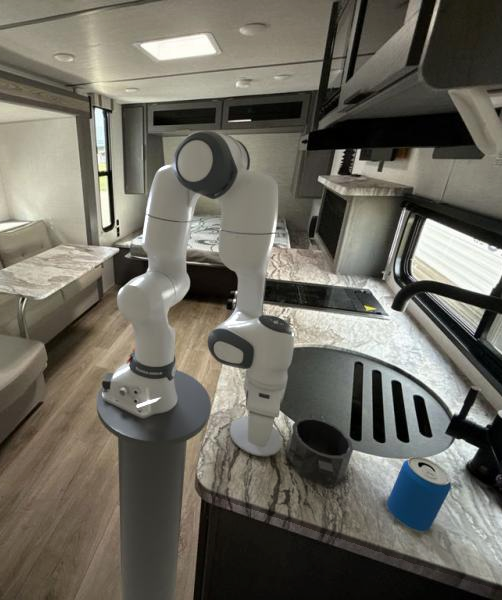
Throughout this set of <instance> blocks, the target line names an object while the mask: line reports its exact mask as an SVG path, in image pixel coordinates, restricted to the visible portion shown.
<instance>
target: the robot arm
mask: <svg viewBox="0 0 502 600" xmlns="http://www.w3.org/2000/svg"><path fill="white" fill-rule="evenodd" d="M250 166H251V158H250V153H249V151H248V149H247V147H246V145H244V143H242V142H241V141H240V140H238V139H236V138H234V137H232V136H231V135H229V134H227V133H223V132H215V131H212V130H200V131H196V132H193V133H191V134H188V135H187V136H186V137H185V138H183V140H181V142H180V143H179V144H178V146H177V148H176V150H175V152H174V155H173V162H172V164H171V163H170V164H166V165H163V166H162V167H160V168H159V169H158V170H157V171H156V172H155V175H154V178H153V180H152V183H151V186H150V190H149V194H148V198H147V202H146V209H145V214H144V223H143V229H142V236H141V238H142V239H141V247H142V249H143V251H144V253H146V256H147V261H148V267H147V269H146V272H145V273H143V274H141V275H138V276H135V277H134V278H132V279H130V280H129V281H128V282H127V283H126V284H124V285H123V286H122V287H121V288H120V289H119V291H118V292H117V296H116V304H117V308H118V310H119V313H120V314H121V315H122V316H123V317H124V319H126V320H127V321H128V322H130V323H131V326H132V329H133V333H134V348H133V349H132V352H131V353H129V357H128V358H127V359H126V363H123V364H121V366H119V367H118V368H117V369H116V370H115V372H106V374H105V376H104V378H103V380H102V382H101V387H102V386H103V388H104V389H103V392H102V399H103V400H104V401H107V402H109V403H111V404H113V405H115V406H117V407H119V408H121V409H123V410H125V411H127V412H129V413H132V414H134V415H136V416H138V417H140V418H147V417H149V416H151V415H154V414H160V413H164V412H167V411H169V410H171V409H172V408H173V407H174V406H175V405H176V403H177V400H178V397H177V394H176V390H175V383H174V375H175V369H176V368H177V367H176V366H177V363H176V362H177V361H176V355H175V350H176V349H175V348H176V331H175V329H174V328H173V327H172V326H171V325H170V322H169V318H168V317H169V311H170V308H172V307H174V306H175V305H177V304H179V303H180V302H181V301H182V300H183V299H184V297H185V296H186V295H187V293H188V292H189V290H190V287H191V279H190V276H189V274H188V272H187V252H188V245H189V240H190V235H191V231H192V230H191V229H192V225H193V220H194V214H195V210H196V205H197V202H198V200H199V199H200V197H201V196H204V197H206V198H208V199H211V200H216V199H217V200H218V202H219V204H220V221H219V230H218V241H217V242H218V243H217V246H218V257H219V259H220V261H221V263H222V264H223V265H224V266H225V267H226V268H228V269H229V270H230V271H233V272H234V273H235V275H236V277H237V291H236V293H237V294H236V306H235V309H234V310H233V312H232V314H231V315H230V316H229V317H228V318H227V319H225V320H224V321H223V322H222V323H220V324H219V325H217V327H215V328H214V329H213V330H212V331H211V332H210V333H209V334H208V337H207V349H208V351H209V353H210V355H211V356H212V358H213V359H215V361H216V362H217V363H220V364H222V365H224V366H228V367H232V368H235V369H241V370H245V374H244V381H243V390H244V395H245V409H246V411H247V412H248V413H247V417H248V442H249V443H250V444H253V445H256V446H260V447H265V446H266V445H267V442H268V439H269V436H270V433H271V430H272V427H274V422H275V418H277V419H278V418H279V416H280V412H281V403H282V402H283V399H284V397H285V394H286V388H287V384H288V378H289V374H288V370H289V367H290V366H291V364H292V360H293V356H294V349H295V332H294V329H293V327H292V326H291V324H290V323H288V322H287V321H286V320H285V319H283V318H280V317H278V316H276V315H270V314H264V301H265V292H266V284H267V283H266V282H267V272H268V268H269V263H270V259H271V256H272V252H273V247H274V244H275V243H274V242H275V237H276V231H277V226H278V225H277V224H278V216H279V186H278V182H277V181H276V179H275V178H274V177H273V176H272V175H270V174H268V173H266V172H263V171H257V170H250ZM176 370H177V369H176Z"/></svg>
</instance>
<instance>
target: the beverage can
mask: <svg viewBox="0 0 502 600" xmlns="http://www.w3.org/2000/svg"><path fill="white" fill-rule="evenodd" d="M451 485H452V484H451V477H450V474H449V473H448V472H447V471H446V469H444V468H443V467H442V466H441V465H439V464H437V463H436V462H435V461H432V460H431V459H428V458H425V457H423V456H415V455H414V456H411V457H409V458H408V459H406V460H405V461H404V462H403V463H402V466H401V468H400V470H399V473H398V475H397V477H396V480H395V482H394V485H393V486H392V489H391V491H390V494H389V496H388V499H387V502H386V504H387V508H388V511H389V512H390V514H391V515H392V516H393V517H394V518H395V519H396V520H397V521H398V522H399V523H401V524H402V525H404V526H405V527H407V528H409V529H411V530H414V531H417V532H428V531H429V530H430V529H431V528H432V526H433V524H434V522H435V520H436V518H437V516H438V514H439V512H440V510H441V508H442V507H443V504H444V502H445V500H446V499H447V496H448V494H449V493H450V491H451V488H452V486H451Z"/></svg>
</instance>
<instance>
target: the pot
mask: <svg viewBox="0 0 502 600" xmlns="http://www.w3.org/2000/svg"><path fill="white" fill-rule="evenodd" d="M354 449H355V448H354V445H353V442H352V440H351V438H350V437H349V436H348V435H347V434H346V432H345V431H343V430H342V429H341V428H339V427H338V426H337V425H335V424H333V423H331V422H329V421H327V420H324V417H323V415H322V414H319V413H315V412H310V417H301V418H298V419H296V420H295V421H294V423H293V424H292V426H291V430H290V434H289V438H288V444H287V447H286V457H287V460H288V462H289V463H290V465H291V467H292V468H293V469H294V470H295V471H296V472H297V473H298V474H300V475H301V476H302V477H304V478H305V479H307V480H309V481H311V482H314V483H317V484H319V485H325V486H333V485H337V484H340V483H341V482H343V480H344V478H345V476H346V473H347V470H348V467H349V464H350V461H351V459H352V455H353V453H354Z"/></svg>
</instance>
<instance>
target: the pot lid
mask: <svg viewBox="0 0 502 600" xmlns="http://www.w3.org/2000/svg"><path fill="white" fill-rule="evenodd" d="M229 435H230V438H231V440H232V441H233V443H234V444H235V445H236V446H237V447H238V448H240V449H241V450H242V451H244V452H246V453H247V454H249V455H253V456H256V457H272V456H274V455H277V454H278V453H279V452H280V451H281V449H282V447H283V439H282V438H283V437H282V436H281V434H280V432H279V431H278V430H277V429H276V427H274V426H273V427H272V430H271V433H270V436H269V439H268V442H267V445H266V446H265V447H260V446H256V445H253V444H250V443H249V442H248V416H243V417H238V418H236V419H234V420H233V421H232V422H231V424H230V425H229Z"/></svg>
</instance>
